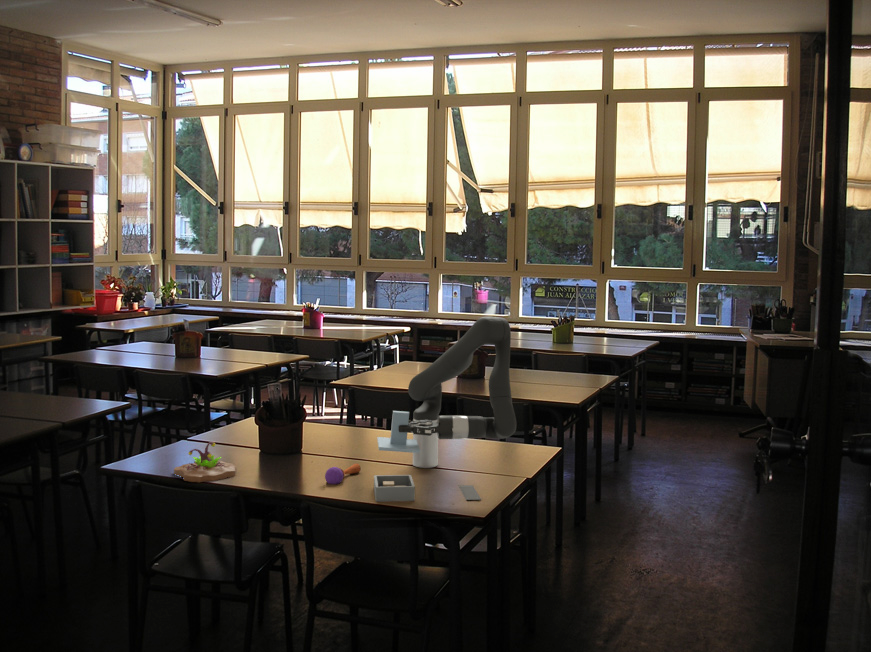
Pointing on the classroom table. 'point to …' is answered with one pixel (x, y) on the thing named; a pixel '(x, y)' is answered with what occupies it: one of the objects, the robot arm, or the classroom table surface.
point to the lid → (398, 436)
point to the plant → (205, 468)
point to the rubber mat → (469, 492)
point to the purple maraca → (340, 473)
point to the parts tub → (394, 488)
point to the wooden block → (388, 483)
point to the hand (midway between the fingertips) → (398, 427)
